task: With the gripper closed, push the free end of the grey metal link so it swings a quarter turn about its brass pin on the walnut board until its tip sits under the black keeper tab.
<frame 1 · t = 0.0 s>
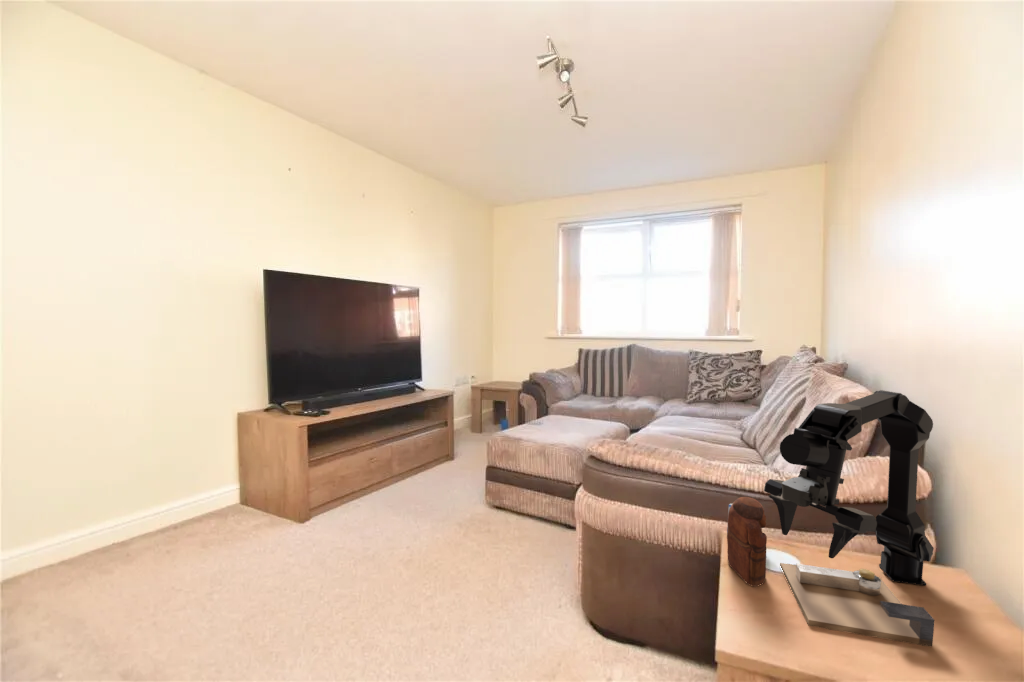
hand: (806, 545, 90), 15 cm above the table, tool pointing down, fingers open, 9 cm apart
board: (846, 602, 96), on the table
brown wooden carving: (746, 572, 107), on the table
link: (837, 578, 100), point 3 cm above the table, hinge at 0.0°
keeper: (920, 638, 86), on the table
medicine box: (742, 541, 121), on the table
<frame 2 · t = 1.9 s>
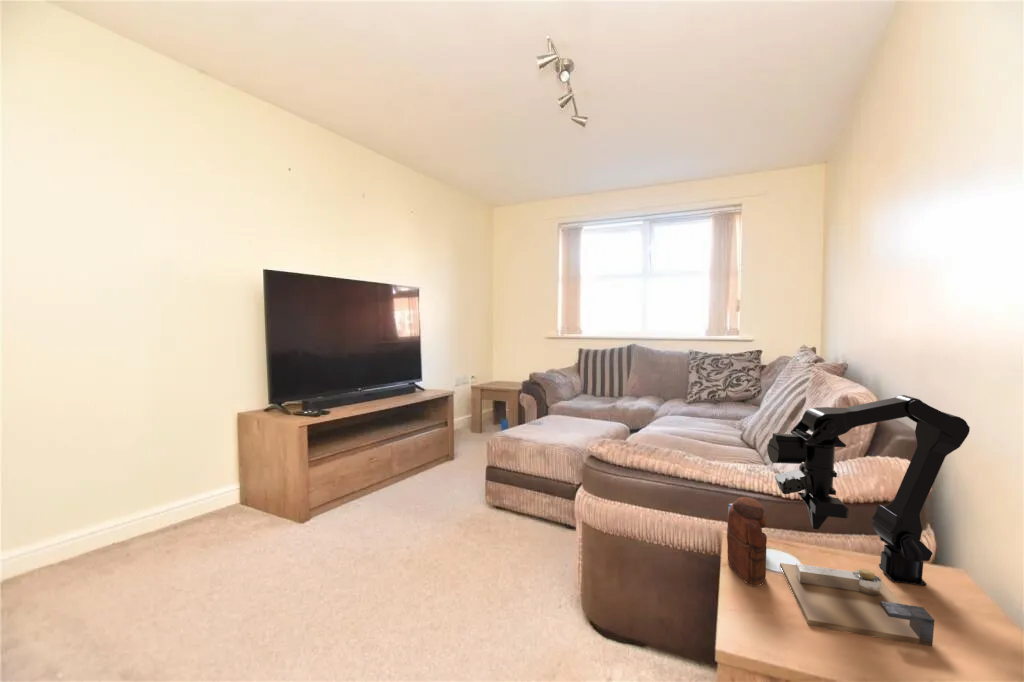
hand: (815, 528, 106), 10 cm above the table, tool pointing down, fingers closed
nothing on the table moved.
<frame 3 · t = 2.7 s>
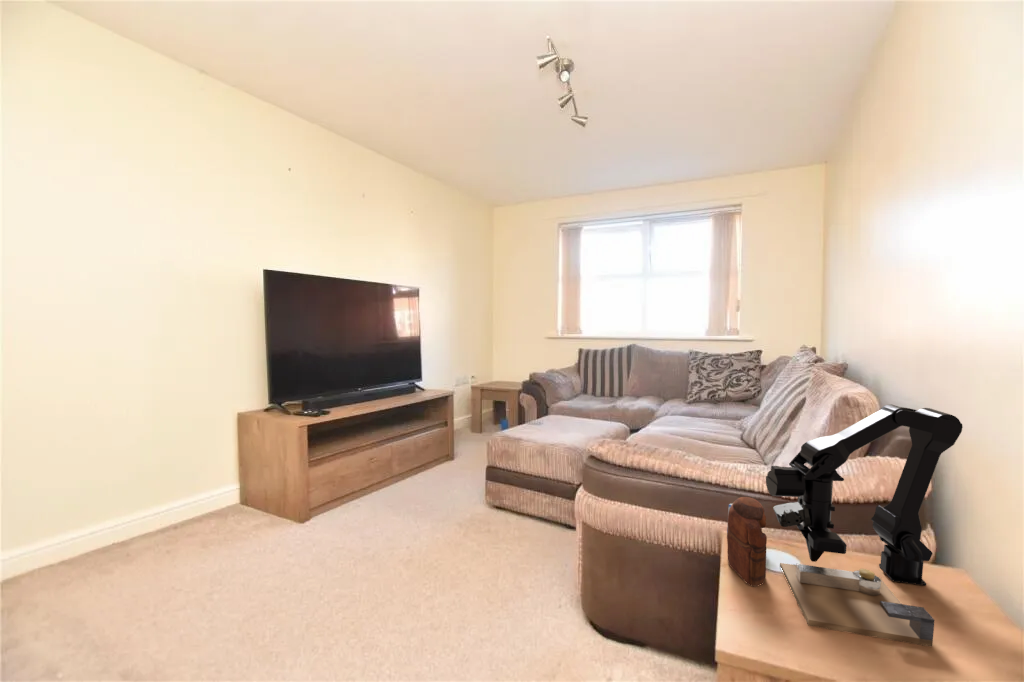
hand: (813, 560, 107), 3 cm above the table, tool pointing down, fingers closed
nothing on the table moved.
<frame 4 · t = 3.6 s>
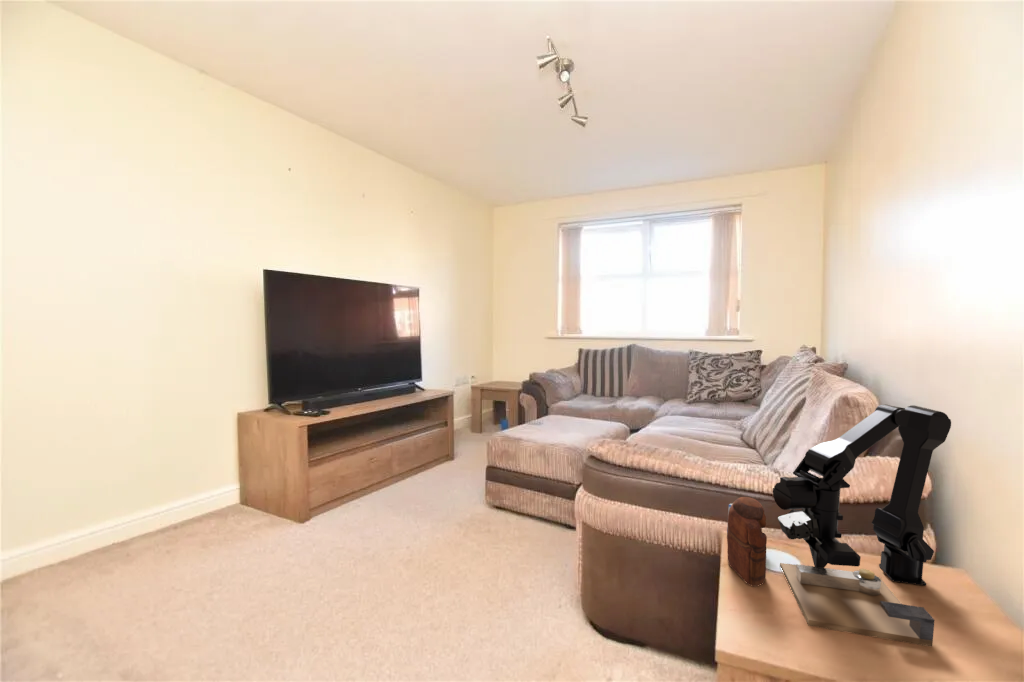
hand: (818, 571, 103), 3 cm above the table, tool pointing down, fingers closed
link: (838, 578, 100), point 3 cm above the table, hinge at 1.1°, touching gripper
everything else where it was.
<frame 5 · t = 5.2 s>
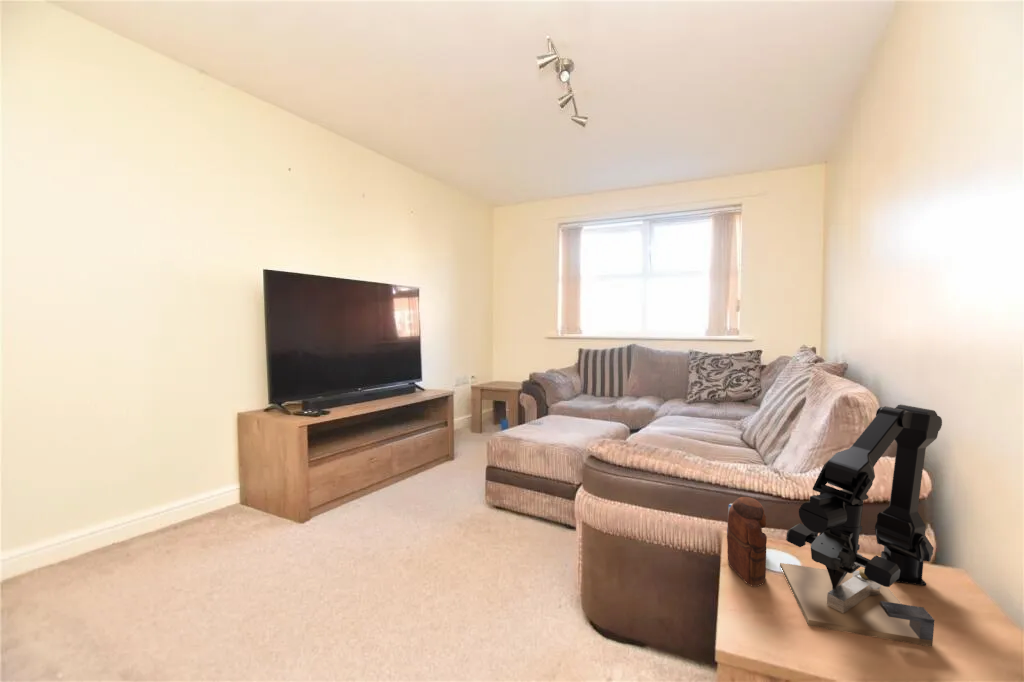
hand: (835, 589, 96), 3 cm above the table, tool pointing down, fingers closed
link: (854, 590, 96), point 3 cm above the table, hinge at 46.3°, touching gripper
everything else where it was.
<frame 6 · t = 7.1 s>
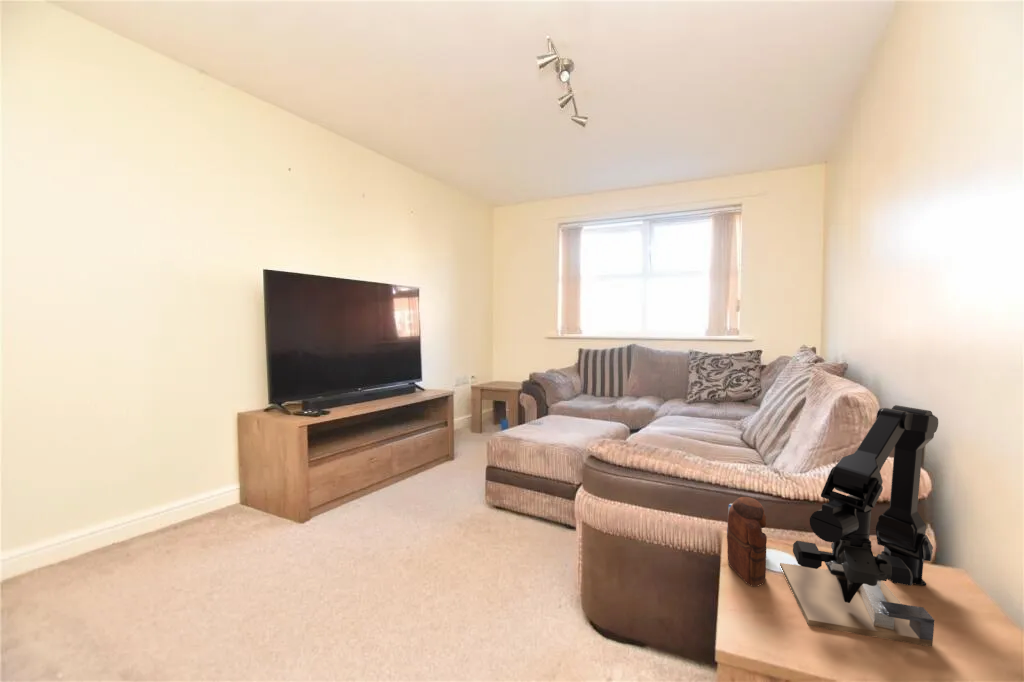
hand: (846, 601, 92), 3 cm above the table, tool pointing down, fingers closed
link: (873, 597, 93), point 3 cm above the table, hinge at 80.6°
everything else where it was.
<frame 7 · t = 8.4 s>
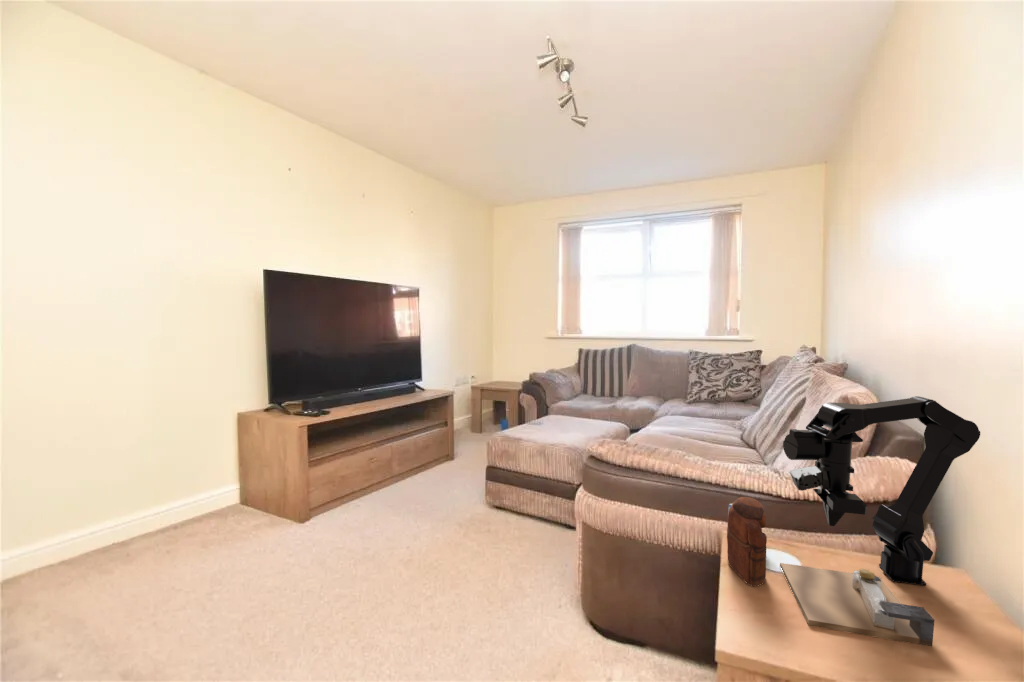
hand: (831, 525, 104), 12 cm above the table, tool pointing down, fingers closed
nothing on the table moved.
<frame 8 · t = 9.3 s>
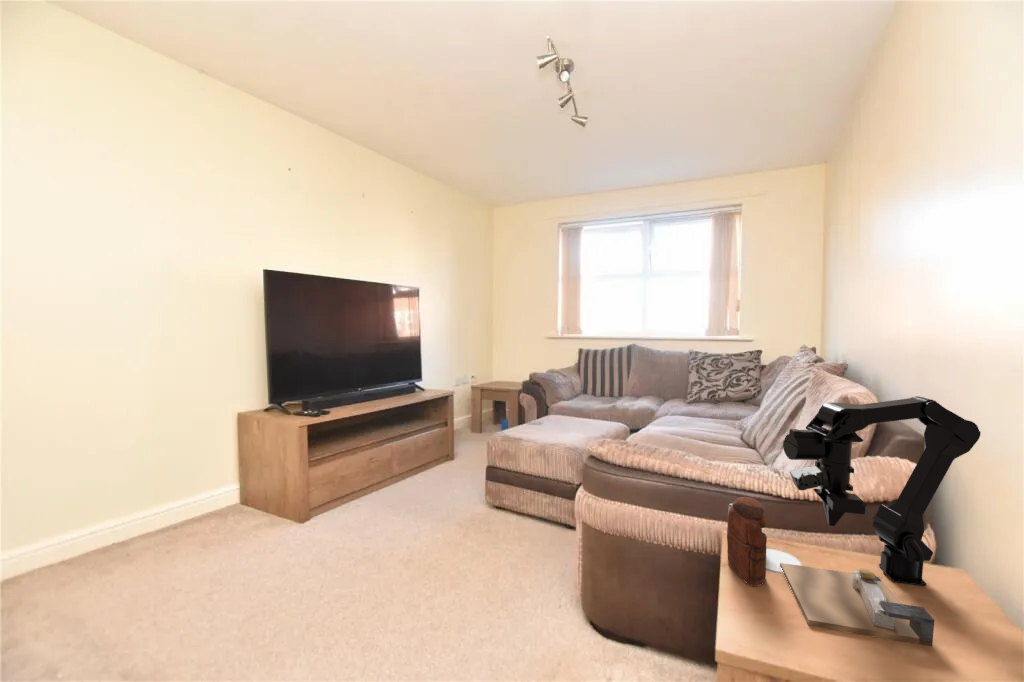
hand: (831, 525, 104), 12 cm above the table, tool pointing down, fingers closed
nothing on the table moved.
at the end: link at +81° (first picture: +0°); the gripper is holding nothing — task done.
